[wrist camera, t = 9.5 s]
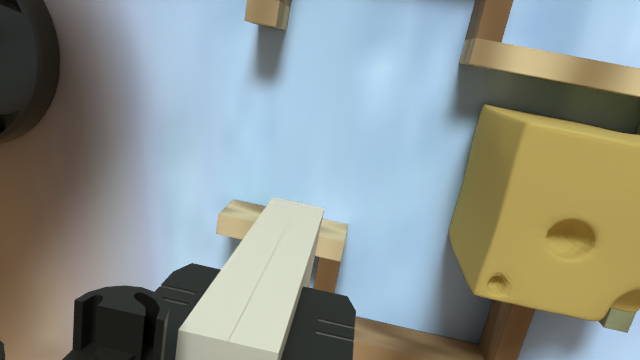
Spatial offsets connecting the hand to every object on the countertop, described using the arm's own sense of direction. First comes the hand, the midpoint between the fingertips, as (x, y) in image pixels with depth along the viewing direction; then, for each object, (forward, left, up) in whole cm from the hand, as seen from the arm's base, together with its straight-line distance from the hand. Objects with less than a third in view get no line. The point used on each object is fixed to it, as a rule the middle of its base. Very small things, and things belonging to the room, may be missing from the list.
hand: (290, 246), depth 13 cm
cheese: (+14, -1, -21) cm, 25 cm away
